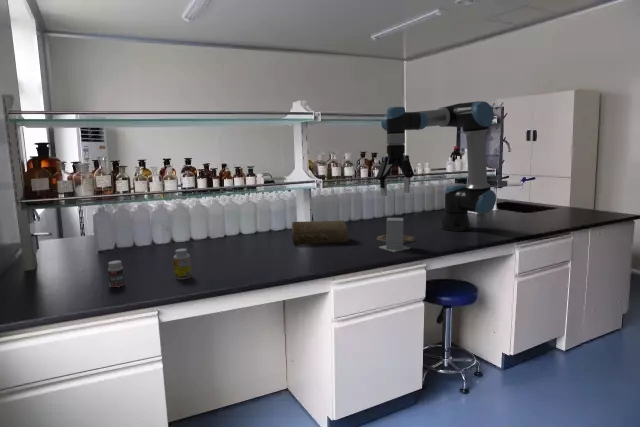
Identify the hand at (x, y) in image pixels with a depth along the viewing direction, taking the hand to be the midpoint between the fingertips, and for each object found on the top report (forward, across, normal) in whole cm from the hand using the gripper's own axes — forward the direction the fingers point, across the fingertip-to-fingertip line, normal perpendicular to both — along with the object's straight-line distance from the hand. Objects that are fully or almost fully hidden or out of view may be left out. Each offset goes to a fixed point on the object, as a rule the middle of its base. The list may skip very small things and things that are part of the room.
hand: (395, 194), depth 184 cm
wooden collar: (+24, -11, -11) cm, 29 cm away
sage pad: (+24, +1, 0) cm, 24 cm away
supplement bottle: (+23, +89, -17) cm, 93 cm away
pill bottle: (+23, +110, -22) cm, 114 cm away
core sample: (+24, +19, -31) cm, 44 cm away
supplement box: (+24, 0, 0) cm, 24 cm away
